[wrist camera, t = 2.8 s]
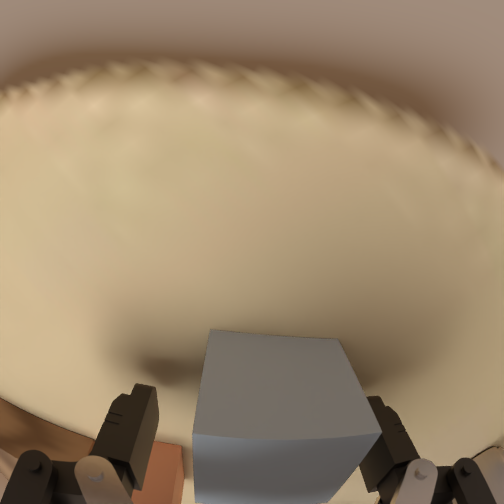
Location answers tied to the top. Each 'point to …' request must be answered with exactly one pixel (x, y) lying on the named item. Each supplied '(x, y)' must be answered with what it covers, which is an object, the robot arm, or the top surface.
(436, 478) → the robot arm
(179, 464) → the terracotta block
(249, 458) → the blue block
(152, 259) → the top surface
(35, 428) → the plinth
